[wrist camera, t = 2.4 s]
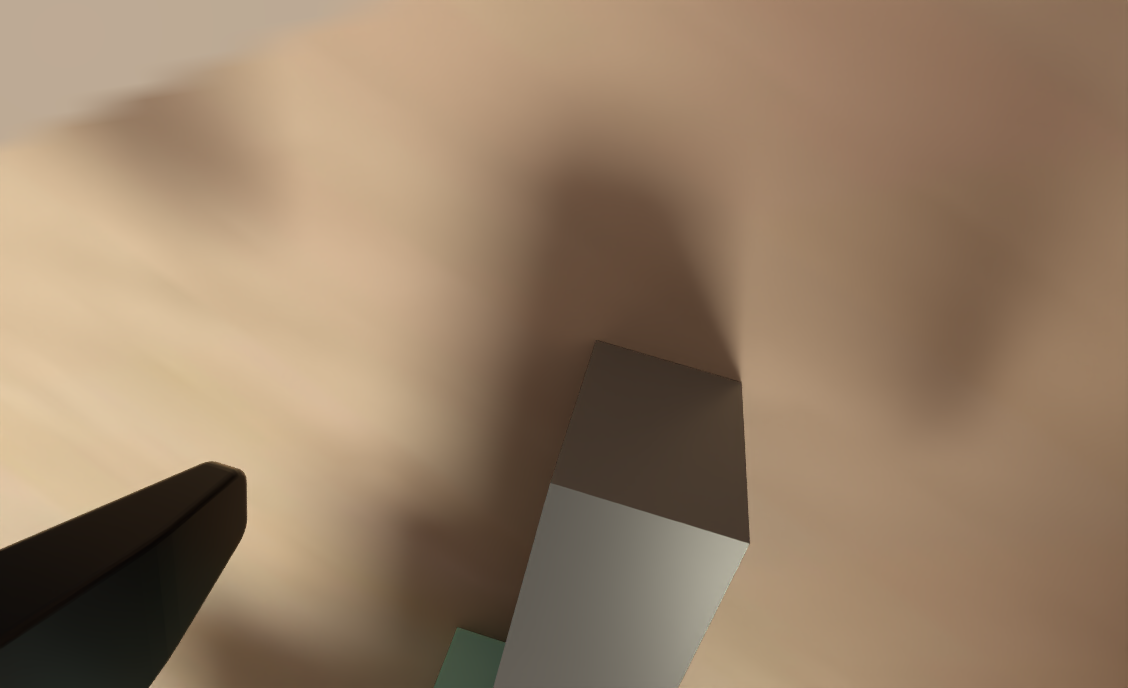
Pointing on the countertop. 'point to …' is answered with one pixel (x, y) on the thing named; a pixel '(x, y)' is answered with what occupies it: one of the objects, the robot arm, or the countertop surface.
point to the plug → (625, 535)
